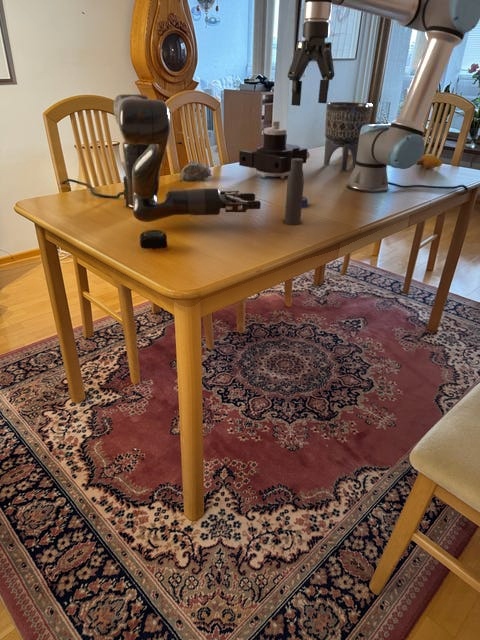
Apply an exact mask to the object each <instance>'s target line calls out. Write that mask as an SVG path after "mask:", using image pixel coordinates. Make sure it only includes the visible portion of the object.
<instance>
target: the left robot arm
mask: <svg viewBox="0 0 480 640" xmlns="http://www.w3.org/2000/svg"><path fill="white" fill-rule="evenodd" d="M113 101H114V102H113V115H114V119H115V121H116V124H117V125H118V129H119V132H120V135H121V137H122V139H123V142H122V154H123V164H124V172H125V175H124V176H123V179H122V180H123V188H124V189H123V191H120V192H118V193H117V194H116V195H107V194H102V193H97V192H95V190H94V187H92V185H90V184H88V183H86V182H82V181H79V180H76V179H72V178H66V179H67V180H66V179H65V180H66V181H64V180H63V181H62V182H61V184H62V185H64V184H66V183H68V182H71V183H75V184H78V185H82V186H85V187H87V188H88V189H90V193H91V194H92V195H93V196H96V197H100V198H103V199H104V198H106V199H118V198H120V197H121V196H123V199H124V200H125V206H126V207H128V208H130V209H132V214H133V217H134V218H135V219H136V220H137V221H140V222H141V223H152V222H155V221H159V220H161V219H162V220H163V219H165V218H169V217H172V216H218V215H220V214H221V209H224V210H225V211H224V212H225V213H247V211H248V210H260V209H261V206H262V205H261V201H260V200H256V194H255V193H254V192H241V191H240V190H221V191H220V189H219V188H217V187H216V188H215V187H213V188H211V187H210V188H208V187H207V188H191V189H171V190H168V191H167V192H166V195H165V200H164V201H163V202H161V203H159V202H158V201H159V199H158V192H159V189H160V177H161V170H162V169H161V168H162V166H163V163H164V159H165V155H166V151H167V148H168V144H169V139H170V135H171V134H170V133H171V117H170V115H171V114H170V109H169V107H168V104H167V103H166V102H165V101H164V100H161V99H153V98H149V96H148V95H147V94H134V93H133V94H132V93H131V94H130V93H129V94H126V93H125V94H124V93H123V94H118V95H117V96H116V97H115V98H114V100H113Z"/></svg>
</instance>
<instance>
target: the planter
mask: <svg viewBox="0 0 480 640" xmlns="http://www.w3.org/2000/svg"><path fill="white" fill-rule="evenodd" d="M373 107H374V106H373V104H372V103H367V102H353V101H333V102H327V103H326V109H325V124H324V125H325V126H324V139H325V144H324V156H323V157H324V158H323V165H325V166H328V165H330V163H331V158H332V156H333V154H334V153H335V151H336V150H337V149H340V148H341V152H342V153H341V166H340V170H341V172H345V171H347V167H348V166H347V165H348V159H349V153H348V152H349V150H350V151H351V153H352V154H351V157H352V158H351V159H352V160H351V161H352V166H353V167H355V165H356V158H357V151H358V143H359V135H360V131H361V128H362V127H363V126H364V125H370V121H371V116H372V112H373Z"/></svg>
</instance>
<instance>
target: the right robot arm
mask: <svg viewBox="0 0 480 640" xmlns="http://www.w3.org/2000/svg"><path fill="white" fill-rule="evenodd" d="M332 6H339V7H343V8H346V9H351V10H355V11H358V12H362V13H366V14H369V15H374V16H378V17H381V18H385V19H388V20H393V21H396V22H397V24H398V25H399V26H400V27H401V26H402V27H405V28H409V29H412V30H414V31H417V32H421V33H425V37H426V39H427V42H426V45H425V47H424V50H423V52H422V54H421V57H420V60H419V63H418V64H417V68H416V69H415V72H414V75H413V79H412V81H411V83H410V85H409V88H408V91H407V94H406V96H405V98H404V101H403V104H402V106H401V109H400V111H399V113H398V117H397V118H396V119H394V120H392V121H391V122H390V123H388V124H382V123H381V124H369V125H364V126H363V127H362V128H361V131H360V135H359V143H358V151H357V158H356V165H355V166H354V167H353V171H351V174H350V176H349V179H348V182H347V187H348V188H349V189H351V190H354V191H358V192H363V193H364V192H365V193H382V192H386V191H388V189H389V185H390V186H393V187H397V188H401V189H407V188H408V189H410V188H425V189H437V190H438V189H439V190H440V189H441V190H454V189H459V188H463V189H464V190H468V186H466V185H464V184H459V185H454V186H442V185H441V186H439V185H438V186H437V185H426V184H408V185H402V184H398V183H396V182H395V183H394V182H390V181H389V178H388V173H387V172H388V171H387V166H389V167H391V168H394V169H400V170H407V169H409V168H412V167H413V166H415V165H416V163H417V162H418V161H419V160H420V158H421V157H422V156H423V155H424V152H425V150H426V149H425V148H426V145H425V144H426V143H425V140H424V138H423V136H424V134H425V129H424V127H423V125H424V122H425V119H426V117H427V115H428V112H429V110H430V107H431V106H432V102H433V101H434V97H435V95H436V93H437V91H438V88H439V85H440V84H441V81H442V78H443V76H444V73H445V71H446V68H447V66H448V64H449V61H450V59H451V56H452V54H453V52H454V49H455V48H456V47H457V46H459V45H461V44H462V42H463V41H464V37H465V35H466V34H467V33H469V32H471V31H472V30H473V29H475V28H476V27H477V26H478V24H479V22H480V0H304V9H303V10H304V14H303V20H304V21H305V22H303V23H302V34H301V36H302V38H304V40H297V42H296V47H295V51H294V56H293V58H292V60H291V63H290V67H289V69H288V73H287V78H288V79H289V81H292V82H291V106H297V107H300V106H301V99H302V86H303V80H301V79H302V77H303V75H304V73H305V72H306V70H307V68H308V65H309V63H311V61H312V60H314V61H315V62H316V64H317V67H318V70H319V72H320V75H321V78H322V79H320V80H319V88H318V89H319V90H318V99H317V103H318V104H326V105H327V103H328V93H329V87H330V81H333V80H334V77H335V74H336V73H335V67H334V59H333V54H332V53H333V52H332V46H333V45H332V43H333V42H331V41H326V39H328V38H329V36H330V26H331V25H330V22H329V21H330V20H331V19H332V9H333V7H332Z"/></svg>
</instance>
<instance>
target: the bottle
mask: <svg viewBox="0 0 480 640" xmlns="http://www.w3.org/2000/svg"><path fill="white" fill-rule="evenodd" d="M303 167H304V164H303V159H300V158H293V159H292V160H291V170H290V172H289V175H288V177H287V180H286V181H287V183H286V196H285V212H284V223H285V224H287V225H293V226H295V225H300V224H301V219H302V208H303V207H302V197H304V196H303V194H304V185H305V177H304V170H303Z"/></svg>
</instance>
